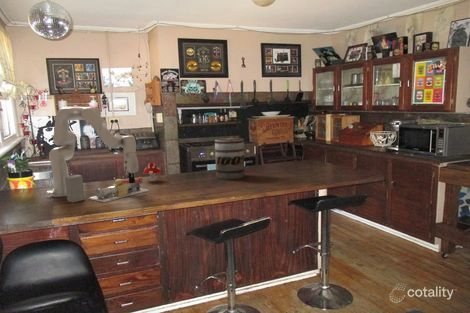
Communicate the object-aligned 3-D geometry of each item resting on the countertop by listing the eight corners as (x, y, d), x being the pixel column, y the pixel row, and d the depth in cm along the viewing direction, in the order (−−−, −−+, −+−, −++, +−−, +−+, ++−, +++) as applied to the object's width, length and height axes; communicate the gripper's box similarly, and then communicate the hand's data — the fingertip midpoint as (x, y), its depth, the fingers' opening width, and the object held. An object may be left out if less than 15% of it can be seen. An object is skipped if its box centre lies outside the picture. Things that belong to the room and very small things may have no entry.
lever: (115, 184, 231) (114, 179, 231) (116, 183, 236) (115, 178, 235) (142, 182, 234) (142, 178, 234) (142, 181, 239) (142, 176, 238)
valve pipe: (103, 202, 217) (103, 191, 216) (89, 199, 226) (88, 188, 225) (148, 191, 244) (147, 180, 243) (133, 188, 253) (133, 178, 252)
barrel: (223, 181, 269) (222, 141, 265) (211, 176, 289) (210, 139, 285) (249, 177, 280) (249, 139, 275) (236, 173, 299) (235, 137, 295)
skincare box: (79, 198, 228) (77, 174, 226) (85, 200, 224) (83, 175, 221) (66, 201, 222) (64, 176, 219) (72, 203, 217) (69, 177, 215)
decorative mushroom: (159, 183, 268) (158, 163, 266) (141, 183, 269) (139, 163, 267) (163, 179, 282) (162, 160, 280) (146, 179, 283) (144, 161, 281)
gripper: (128, 156, 222) (130, 185, 224) (141, 153, 236) (143, 180, 238) (117, 156, 224) (120, 185, 227) (131, 153, 238) (133, 180, 241)
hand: (132, 183), depth 233 cm, fingers closed
